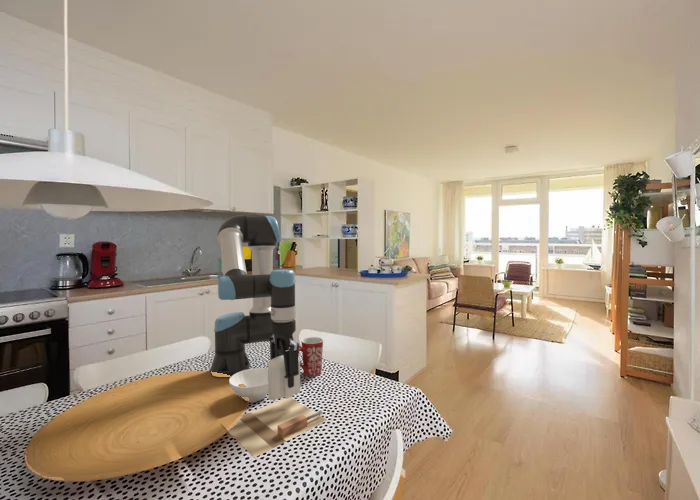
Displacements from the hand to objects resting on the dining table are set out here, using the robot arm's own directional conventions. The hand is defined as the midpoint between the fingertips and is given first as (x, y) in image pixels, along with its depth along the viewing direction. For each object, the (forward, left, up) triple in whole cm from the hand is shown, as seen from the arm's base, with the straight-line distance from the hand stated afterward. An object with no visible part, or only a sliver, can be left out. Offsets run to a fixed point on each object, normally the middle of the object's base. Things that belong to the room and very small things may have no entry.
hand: (284, 393), depth 100 cm
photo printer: (0, 0, -1) cm, 1 cm away
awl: (+12, -2, -4) cm, 13 cm away
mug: (-18, +23, -6) cm, 30 cm away
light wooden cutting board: (+5, -6, -6) cm, 10 cm away
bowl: (-16, -2, -6) cm, 17 cm away
